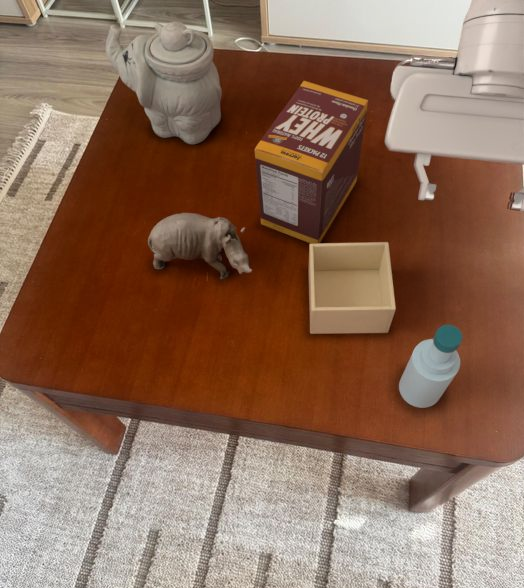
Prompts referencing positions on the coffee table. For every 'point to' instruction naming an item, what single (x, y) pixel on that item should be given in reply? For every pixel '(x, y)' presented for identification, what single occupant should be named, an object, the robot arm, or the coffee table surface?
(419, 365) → the bottle
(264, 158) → the supplement box
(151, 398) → the coffee table surface
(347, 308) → the open box
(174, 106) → the teapot
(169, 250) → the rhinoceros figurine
